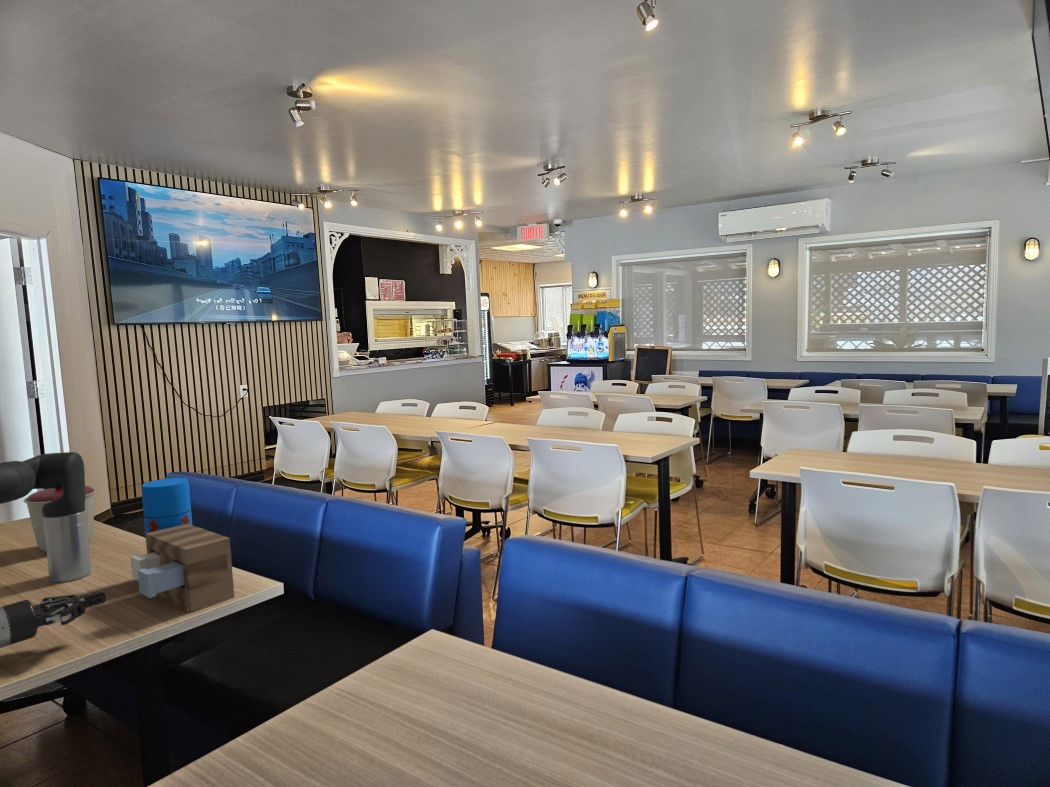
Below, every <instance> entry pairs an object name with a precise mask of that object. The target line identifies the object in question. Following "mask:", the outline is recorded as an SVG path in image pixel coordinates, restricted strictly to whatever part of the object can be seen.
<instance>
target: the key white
mask: <svg viewBox="0 0 1050 787" xmlns="http://www.w3.org/2000/svg"><path fill="white" fill-rule="evenodd" d="M158 566H161V558H160V553H158V552H152V553H148V554H147V553H144V554H142V555H139V554H134V555H131V556H130V567H131V576H132V578H133V579H135V580H136V581H138V570H140V569H144V568H145V569H151V568H154V567H158Z"/></svg>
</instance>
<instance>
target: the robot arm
mask: <svg viewBox="0 0 1050 787" xmlns="http://www.w3.org/2000/svg"><path fill="white" fill-rule="evenodd" d="M85 486H86V472H85V463H84V459H83V457H82V455H81V454H80V453H78V452H74V451H72V452H69V451H68V452H52V453H51V452H50V453H42V454H39V455H37V456H33V457H30V458H29V459H26V460H22V461H21V460H9V461H3V462H0V505H2V504H7V503H10V502H13V501H18V500H20V499H23V498H24V497H26V496H27V495H28V496H29V494H30V493H31V492H32V491H33V490H45V489H51V488H63V495H62V496H61V497H60V498H58V499H56V500H54V501H51V502H48V503H46V504H45V505H43V507H42V514H43V523H44V532H45V541H46V550H47V552H46V558H47V568H48V569H47V570H48V577H49V578H48V579H49V581H50V582H52V583H63V582H70V581H75V580H78V579H81V578H84V577H86V576H89V575H90V574H91V573H92V564H91V552H90V542H89V541H88V531H87V521H86V512H85V498H86V493H85ZM106 597H107V596H106V593H105V592H104V591H102V590H99V591H96V592H92V593H89V594H86V595H76V594H68V595H60V596H50V597H44V598H42V600H41V602H40V603H38V604H36V605H35V604H34V605H33V603H32V602H31V600H29V599H23V600H20V601H16V602H12V603H9V604H6V605H2V606H0V649H1V648H5V647H8V646H11V645H14V644H18V643H20V642H24V641H26V640H30V639H32V638H36V636H37V633H38V629H39V627H44V626H47V627H49V626H52V625H53V626H54V625H55V624H57V623H59V622H60V624H61V626H65V625H68V624H69V623H71V622H74V621H75V620H76V619H77V618H79V617H80V616H82V615H84V614H85V613H86V609H87V608H91V607H94V606H97V605H101V604H104V603H105V602H106V601H107V599H106Z"/></svg>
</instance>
